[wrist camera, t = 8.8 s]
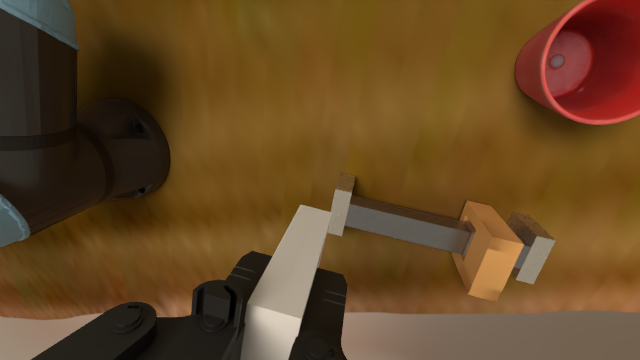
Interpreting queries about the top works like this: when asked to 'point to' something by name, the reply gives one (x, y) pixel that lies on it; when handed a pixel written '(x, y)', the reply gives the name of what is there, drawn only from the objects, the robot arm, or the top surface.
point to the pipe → (433, 228)
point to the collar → (487, 252)
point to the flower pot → (586, 63)
